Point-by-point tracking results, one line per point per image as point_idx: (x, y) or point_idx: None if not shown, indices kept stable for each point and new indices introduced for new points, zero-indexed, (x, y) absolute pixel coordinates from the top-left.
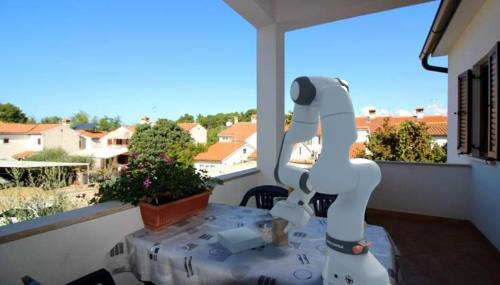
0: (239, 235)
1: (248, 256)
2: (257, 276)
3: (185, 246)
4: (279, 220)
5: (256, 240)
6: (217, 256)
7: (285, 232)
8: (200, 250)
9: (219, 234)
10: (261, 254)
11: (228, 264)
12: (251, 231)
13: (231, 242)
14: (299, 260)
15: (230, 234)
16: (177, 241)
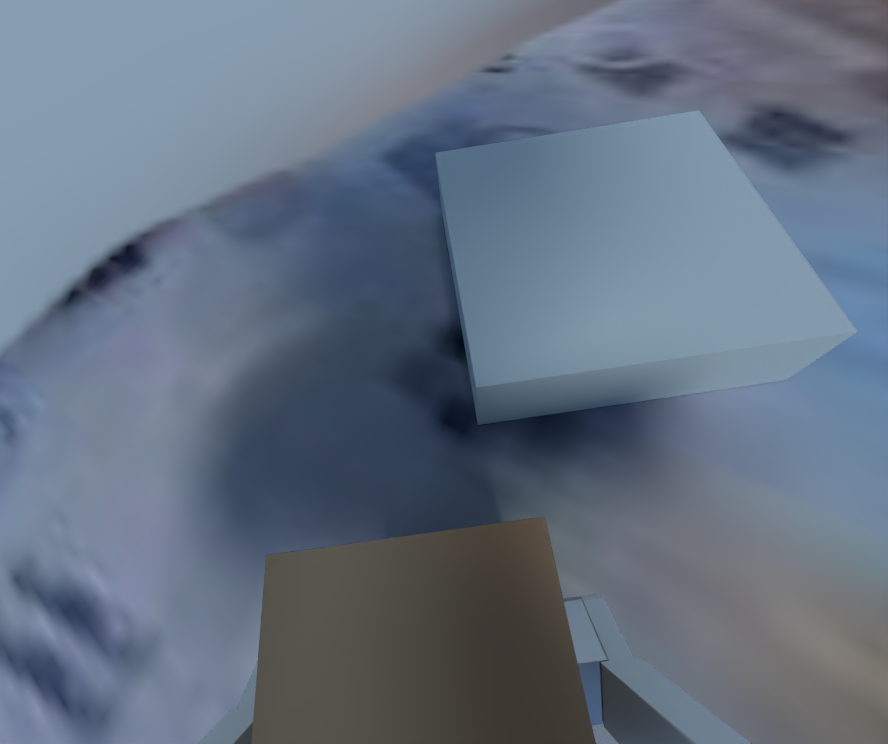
0: (575, 218)
1: (360, 273)
2: (150, 244)
3: (636, 57)
4: (384, 661)
5: (465, 338)
6: (448, 148)
7: None
8: (558, 100)
9: (660, 121)
10: (337, 353)
11: (337, 172)
12: (656, 340)
13: (461, 149)
14: (65, 577)
15: (623, 169)
16: (720, 35)
